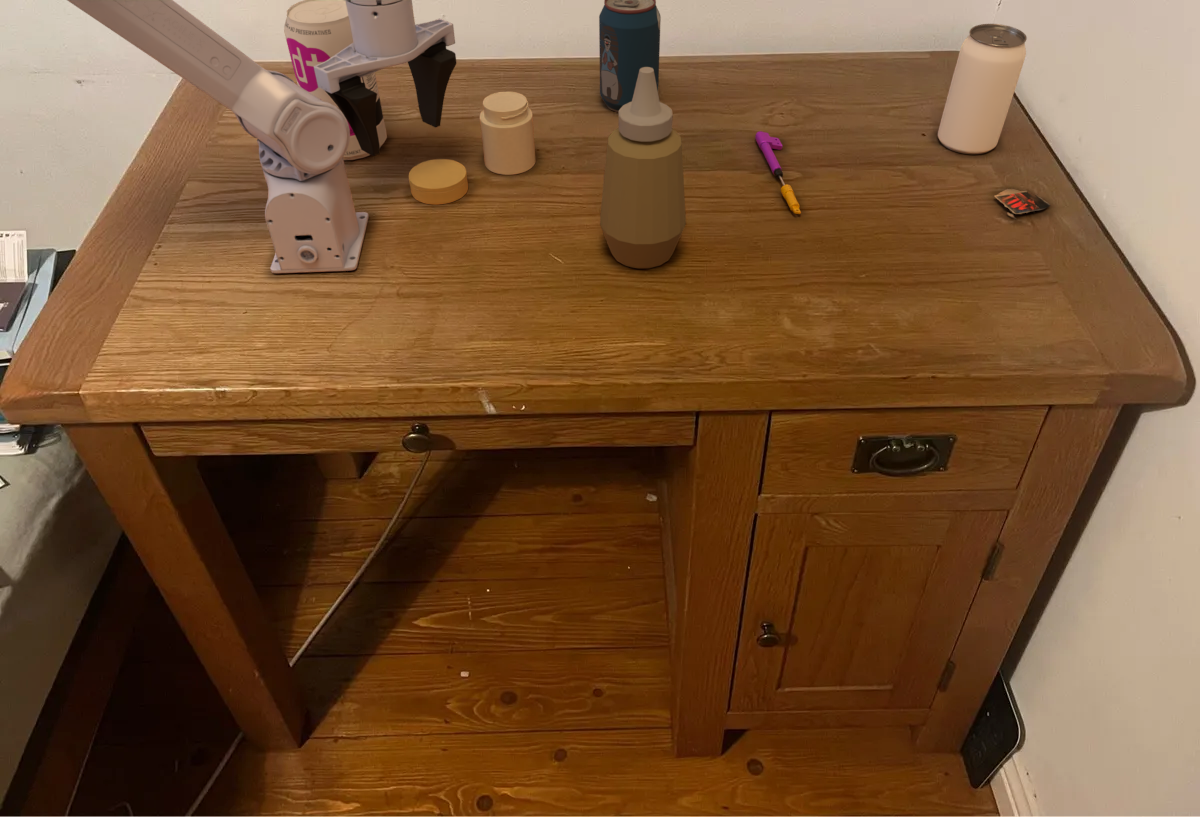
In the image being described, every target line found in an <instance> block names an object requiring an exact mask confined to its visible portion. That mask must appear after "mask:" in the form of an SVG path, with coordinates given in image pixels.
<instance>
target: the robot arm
mask: <svg viewBox="0 0 1200 817" xmlns="http://www.w3.org/2000/svg"><path fill="white" fill-rule="evenodd" d="M66 1H67V2H69V3H70V4H72V5H73V6H75V7H76V8H77V9H79V10H81V11H82V12H83V13H85V14H86V15H89V17H91V18H93V19H94V20H95V21H97V22H98V23H100V24H102V25H103V26H104V27H106V28H108V29H109V30H110V31H112V32H113V33H114V34H116V35H118V36H119V37H121V38H122V39H124V40H125V41H127V42H128V43H129V44H131V45H133V46H134V47H136V48H137V49H139V50H140V51H142V52H143V53H144V54H146V55H147V56H149V57H151V58H152V59H153V60H155V61H156V62H158V63H159V64H161V65H162V66H164V67H165V68H167V69H168V70H170V71H172V72H173V73H174V74H176V75H177V76H179V77H180V78H182V79H183V80H185V81H186V82H187V83H189V84H190V85H192V86H194V87H195V88H197V89H198V90H199V91H202V92H203V93H204V94H206V95H207V96H208V97H210V98H212V99H213V100H215V101H216V102H217V103H219V104H221V105H222V106H224V107H225V108H226V109H228V110H229V111H231V112H232V113H233V114H234V116H235V118H236V120H237V121H238V123H239V126H240V127H241V128H242V129H243V130H244V131H245V132H246V133H247V134H248V135H250V136H251V137H253V138H255V139H256V141H257V145H258V158H259V163H260V166H261V170H262V174H263V176H264V179H265V184H266V186H267V193H268V195H267V200H266V204H265V207H264V220H265V223H266V226H267V230H268V233H269V236H270V239H271V242H272V245H273V249H274V252H275V253H274V256H273V259H272V261H271V264H270V268H269V269H270V272H271V273H273V274H295V273H298V274H299V273H321V272H323V273H324V272H346V271H347V272H348V271H355V270H356V269H357V268H358V264H359V260H360V255H361V252H362V247H363V243H364V239H365V235H366V231H367V226H368V222H369V217H370V216H369V213H368V212H366V211H359V212H358V211H356V208H355V204H354V200H353V196H352V195H353V194H352V191H351V187H350V182H349V177H348V174H347V169H346V164H345V160H343V156H344V155H345V153H346V151H347V148H348V145H349V140H350V129H349V125H348V123H349V124H350V126H351V128H352V130H353V132H354V134H355V136H356V138H357V140H358V143H359V145H360V147H361V150H363V151H365V152H366V153H368V154H370V155H369V156H372V157H376V156H377V155H380V152H381V150H380V149H381V147H380V145H379V139H378V133H377V128H376V99H377V93H375V92H373V91H371V90H369V89H367V88H366V87H365V83H362V82H361V77H364V76H366V75H369V74H371V73H374V72H375V73H376V72H379V71H381V70H383V69H386V68H389V67H393V66H394V67H395V66H398V65H402V64H406V63H407V65H408V67H409V70H410V73H411V76H412V80H413V83H414V89H415V93H416V99H417V106H418V111H419V114H420V118H421V121H422V122H423V123H425V124H426V125H429V126H431V127H433V128H435V129H436V128H438V127H440V126H441V123H442V115H443V108H444V101H445V95H446V91H447V87H448V84H449V81H450V78H451V76H452V74H453V71H454V69H455V67H456V65H457V56H456V53H455V52H454V51H453V50H450V49H448V48H447V47H450V46H453V45H455V44H456V37H455V28H454V23H453V22H450V21H447V20H445V19H443V18H437V19H434V20H430V21H427V22H422V23H417V24H416V21H415V14H414V5H413V0H345V1H346V6H347V11H348V17H349V22H350V27H351V32H352V37H353V43H352V44H350V45H349V46H347V47H346V48H344V49H343V50H342V51H340V52H339V53H337V54H336V55H334V56H333V57H331V58H330V59H328V60H327V61H325V62H323V63H321V64H318V65H316V66H314V71H315V75H316V79H317V84H318V87H319V88H321V89H323V90H325V92H326V93H327V94H328V95H329V96H330V97H331V98H332V100H333V101H334V102H335V103H336V105H337V106H338V107H339V109H340V110H341V111H340V110H339V109H338V108H337V107H335V106H333V105H332V104H330V103H328V102H324V101H322V100H320V99H319V98H317V97H316V96H314V95H313V94H311V93H309V92H308V91H306V90H305V89H303V88H302V87H300V86H298V85H297V83H295V82H294V80H293V79H292V78H290V77H289V76H288V75H286V74H285V73H282V72H281V71H277V70H270V69H265V68H264V67H263V66H261V65H260V64H258V63H257V62H256V61H255V60H254V59H252V58H251V57H249V56H248V55H247V54H246V53H244V52H243V51H241V50H240V49H238V48H237V47H236V46H235V45H233V44H232V43H231V42H229V41H228V40H227V39H225V38H224V37H223V36H221V35H220V34H219V33H217V32H216V31H215V30H213V29H212V28H210V27H209V26H208V25H207V24H205V23H204V22H203V21H201V20H200V19H199V18H198V17H196V16H195V15H193V14H192V13H191V12H189V11H188V10H186V9H185V8H184V7H182V6H181V5H180V4H179V3H177V2H176V1H174V0H66ZM347 121H348V122H347Z"/></svg>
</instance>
